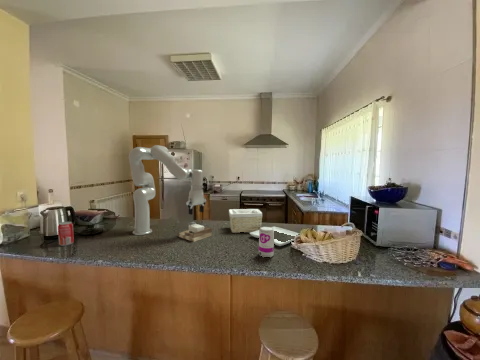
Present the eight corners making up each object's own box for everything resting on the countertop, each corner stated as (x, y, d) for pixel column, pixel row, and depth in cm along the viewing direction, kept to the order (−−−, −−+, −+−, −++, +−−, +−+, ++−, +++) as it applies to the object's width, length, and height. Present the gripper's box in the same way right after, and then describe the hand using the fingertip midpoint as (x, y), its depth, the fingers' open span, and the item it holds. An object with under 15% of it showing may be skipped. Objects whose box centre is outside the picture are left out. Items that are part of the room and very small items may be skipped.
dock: (178, 236, 152) (178, 228, 151) (196, 231, 164) (196, 223, 164) (193, 241, 142) (193, 233, 141) (211, 235, 154) (211, 227, 154)
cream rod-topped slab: (187, 232, 153) (187, 223, 152) (194, 230, 157) (194, 221, 157) (197, 235, 147) (197, 225, 146) (204, 233, 151) (204, 223, 151)
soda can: (76, 243, 135) (75, 222, 134) (62, 247, 129) (62, 225, 128) (69, 241, 138) (68, 220, 137) (56, 245, 132) (55, 223, 131)
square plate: (280, 249, 132) (280, 243, 132) (248, 237, 153) (248, 232, 153) (305, 240, 150) (305, 234, 150) (274, 230, 171) (274, 225, 170)
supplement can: (269, 259, 118) (270, 231, 116) (255, 255, 122) (256, 228, 121) (275, 254, 124) (276, 228, 123) (262, 251, 129) (263, 225, 128)
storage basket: (230, 233, 160) (230, 213, 159) (228, 227, 176) (228, 208, 175) (262, 232, 164) (263, 213, 163) (257, 226, 180) (258, 208, 179)
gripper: (202, 186, 159) (201, 210, 160) (182, 188, 145) (182, 214, 146) (209, 187, 154) (209, 212, 155) (190, 189, 141) (189, 216, 142)
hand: (196, 213), depth 151 cm, fingers open, 9 cm apart
